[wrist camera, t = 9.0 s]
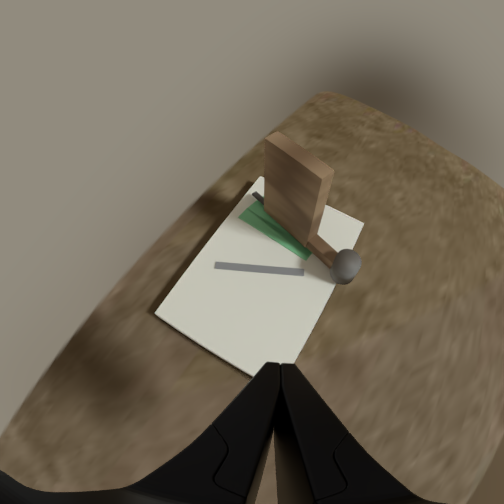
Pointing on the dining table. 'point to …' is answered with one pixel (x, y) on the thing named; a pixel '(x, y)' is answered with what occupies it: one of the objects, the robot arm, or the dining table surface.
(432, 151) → the dining table surface
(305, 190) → the brown slab with knob
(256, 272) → the green-marked white board
